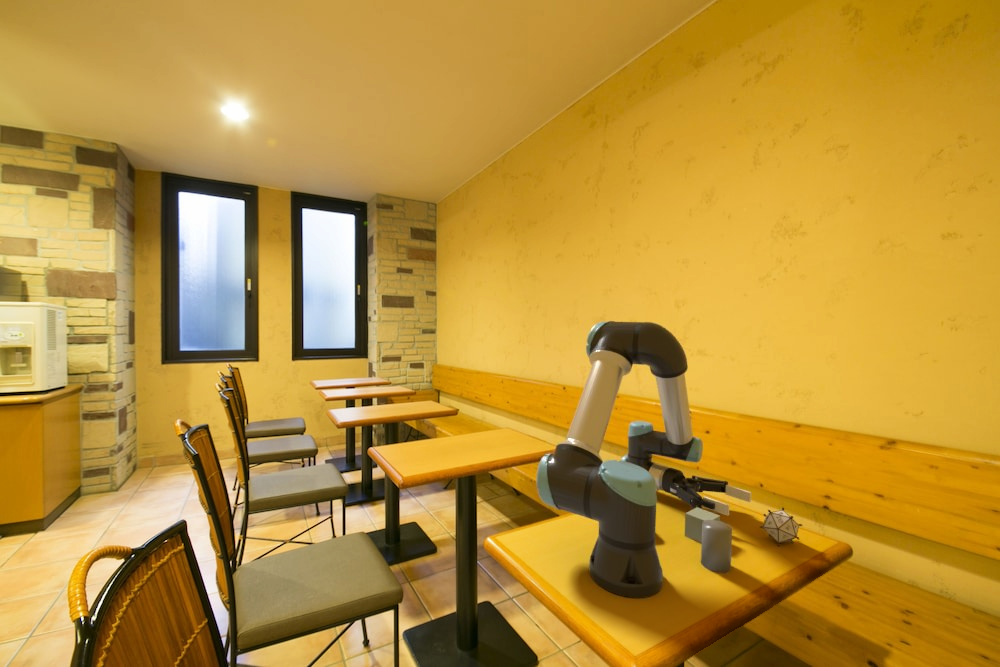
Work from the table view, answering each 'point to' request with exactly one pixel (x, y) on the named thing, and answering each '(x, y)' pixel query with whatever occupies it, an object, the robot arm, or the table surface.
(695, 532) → the olive block
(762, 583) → the table surface
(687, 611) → the table surface
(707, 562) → the gray cylinder
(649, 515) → the robot arm
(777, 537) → the game die
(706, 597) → the table surface
